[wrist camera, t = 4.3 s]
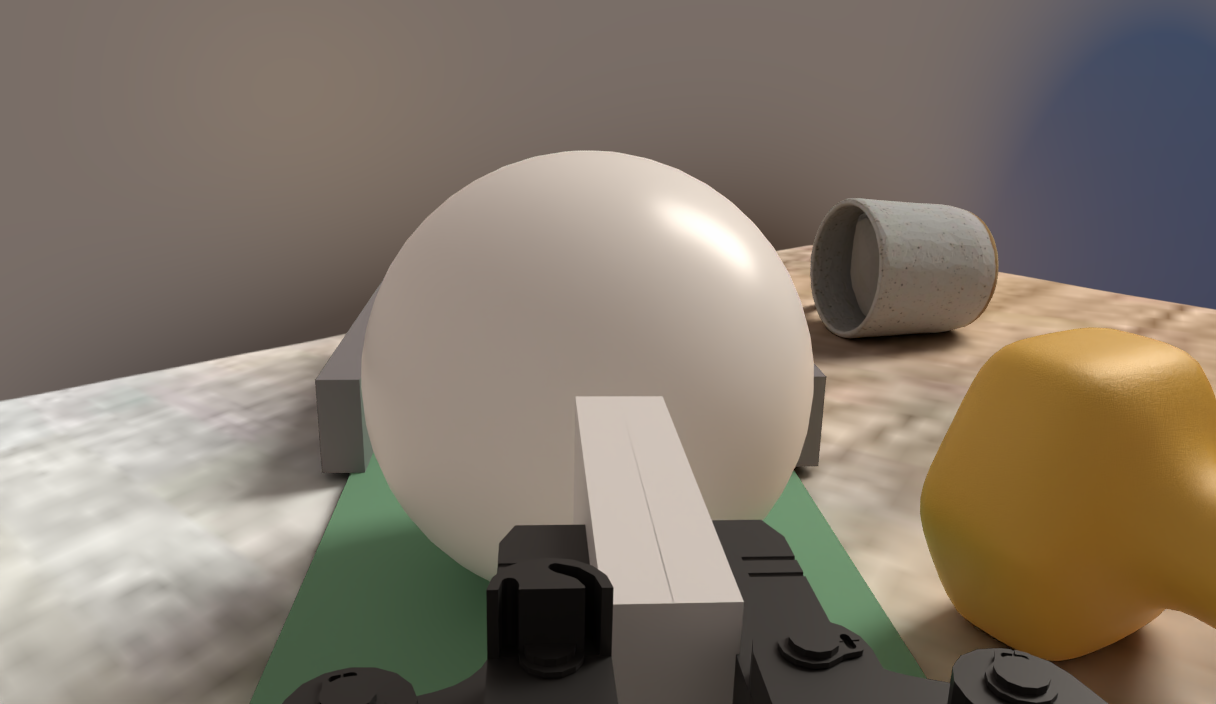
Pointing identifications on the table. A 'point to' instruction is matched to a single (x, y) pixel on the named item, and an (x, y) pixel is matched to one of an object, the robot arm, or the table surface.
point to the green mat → (456, 598)
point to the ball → (579, 345)
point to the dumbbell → (1077, 492)
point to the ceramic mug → (901, 268)
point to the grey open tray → (345, 416)
